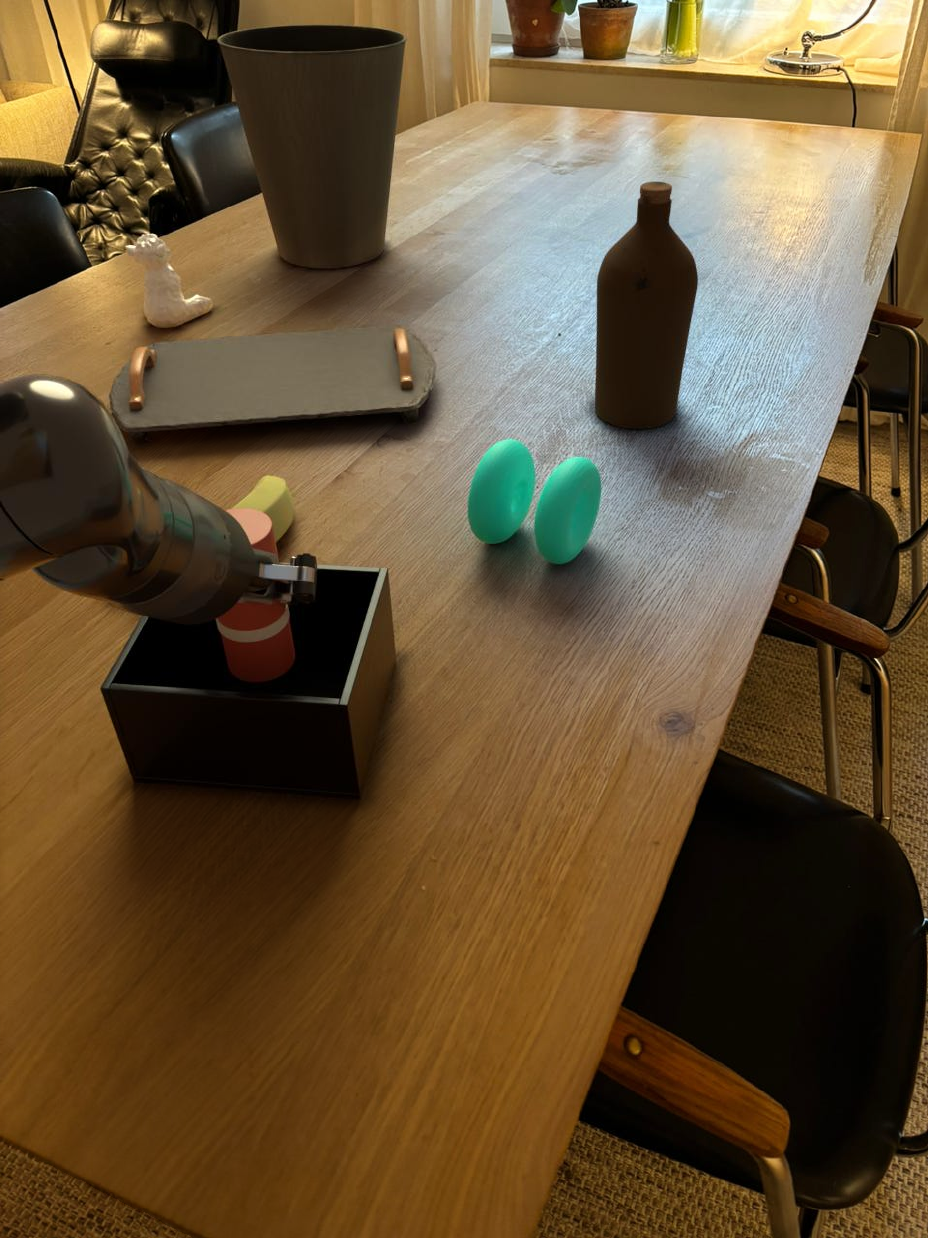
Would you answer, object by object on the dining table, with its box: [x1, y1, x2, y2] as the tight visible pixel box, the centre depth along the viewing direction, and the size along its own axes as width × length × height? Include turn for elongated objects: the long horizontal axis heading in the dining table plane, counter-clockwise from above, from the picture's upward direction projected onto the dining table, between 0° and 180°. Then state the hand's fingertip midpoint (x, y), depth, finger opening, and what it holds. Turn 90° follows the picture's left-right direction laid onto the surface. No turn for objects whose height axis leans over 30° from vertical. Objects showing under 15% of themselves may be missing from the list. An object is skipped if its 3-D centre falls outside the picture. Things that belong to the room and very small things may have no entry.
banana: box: [231, 475, 296, 543], centre depth 95 cm, size 14×6×20 cm
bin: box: [99, 561, 397, 800], centre depth 75 cm, size 17×15×10 cm
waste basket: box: [216, 23, 408, 269], centre depth 149 cm, size 27×20×30 cm
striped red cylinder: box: [216, 508, 295, 682], centre depth 71 cm, size 5×5×12 cm
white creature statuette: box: [124, 233, 214, 329], centre depth 135 cm, size 10×9×12 cm
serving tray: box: [108, 325, 437, 445], centre depth 119 cm, size 39×23×6 cm, turn 97°
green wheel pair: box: [467, 438, 602, 565], centre depth 92 cm, size 10×10×10 cm
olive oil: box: [594, 181, 699, 430], centre depth 108 cm, size 11×11×25 cm
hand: (257, 588), depth 72 cm, fingers closed on striped red cylinder, 5 cm apart
